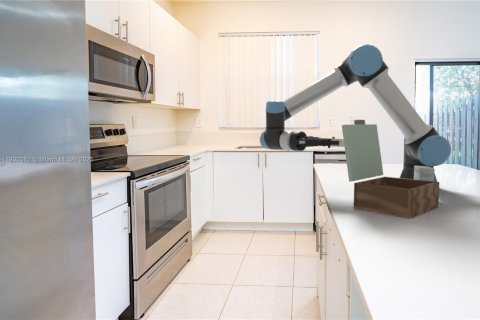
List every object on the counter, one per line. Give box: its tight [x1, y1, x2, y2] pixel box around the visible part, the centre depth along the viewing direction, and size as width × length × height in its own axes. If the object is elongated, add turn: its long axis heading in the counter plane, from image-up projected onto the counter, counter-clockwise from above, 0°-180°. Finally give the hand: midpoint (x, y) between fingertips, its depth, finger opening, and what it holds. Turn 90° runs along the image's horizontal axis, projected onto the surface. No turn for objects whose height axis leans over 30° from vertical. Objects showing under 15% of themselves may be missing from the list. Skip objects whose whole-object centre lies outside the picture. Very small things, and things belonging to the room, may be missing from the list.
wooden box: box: [353, 176, 440, 219], centre depth 126 cm, size 21×18×8 cm
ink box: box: [414, 166, 435, 181], centre depth 138 cm, size 9×5×12 cm, turn 168°
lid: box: [341, 119, 384, 182], centre depth 133 cm, size 21×20×1 cm
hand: (348, 143), depth 136 cm, fingers closed
